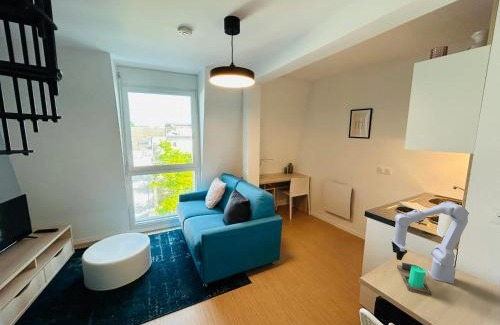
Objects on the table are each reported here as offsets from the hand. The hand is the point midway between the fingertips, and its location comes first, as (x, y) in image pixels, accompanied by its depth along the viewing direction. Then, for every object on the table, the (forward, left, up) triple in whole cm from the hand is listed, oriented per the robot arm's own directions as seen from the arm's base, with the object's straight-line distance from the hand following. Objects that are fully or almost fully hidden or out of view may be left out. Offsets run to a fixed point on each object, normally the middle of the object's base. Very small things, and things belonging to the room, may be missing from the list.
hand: (397, 255), depth 123 cm
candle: (-7, +11, -10) cm, 16 cm away
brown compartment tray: (-7, +6, -9) cm, 13 cm away
